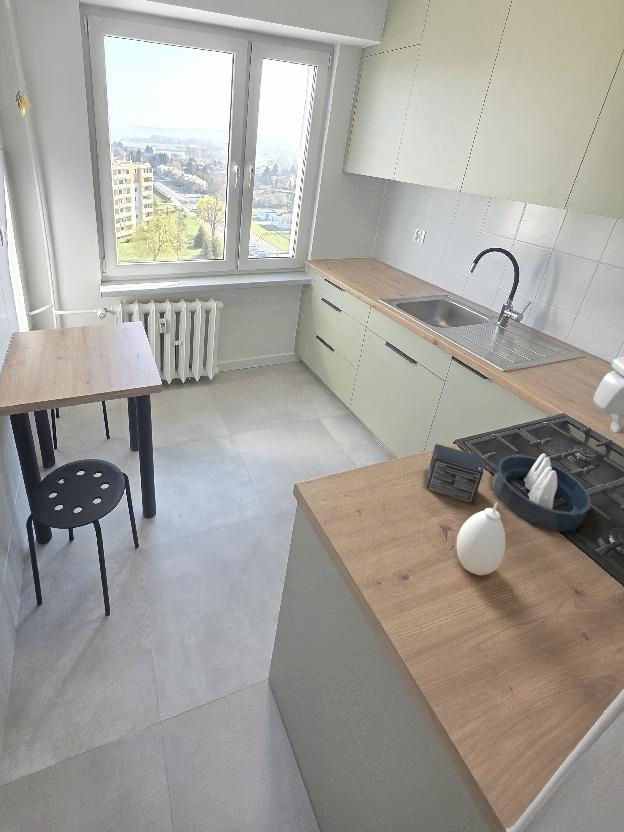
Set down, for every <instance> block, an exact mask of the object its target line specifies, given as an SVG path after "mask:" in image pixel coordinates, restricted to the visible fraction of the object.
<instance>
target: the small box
mask: <svg viewBox="0 0 624 832" xmlns="http://www.w3.org/2000/svg"><path fill="white" fill-rule="evenodd" d="M484 473H485V470H484V462H483V457H482V456H481V455H478V454H474V453H471V452H467V451H464V450H460V449H456V448H454V447H449V446H446V445H442V444H439V443H435V444H434V448H433V451H432V455H431V459H430V462H429V467H428V470H427V473H426V489H427V490H429V491H433V492H436V493H439V494H442V495H445V496H447V497H451V498H454V499H457V500H460V501H464V502H466V503H470V504H475V503H474V502H475V498H476V496H477V493H478V490H479V488H480V484H481V481H482V478H483V475H484Z"/></svg>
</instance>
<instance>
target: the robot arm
mask: <svg viewBox="0 0 624 832" xmlns="http://www.w3.org/2000/svg"><path fill="white" fill-rule="evenodd" d="M611 368H613V370H611V371H609V372H608V373H606V375H604V377H603V378H602V380H601V381H600V383H599V385H598V387H597V388H596V391H595V393H594V396H593V402H594V404H595V405H596V406H597V408H599V409H600V411H602V412H603V413H605V414H609V415H610V416H611V420H612V422H611V424H610V427H609V429H610V430H611V432H613V433H615V434H623V435H624V422H623V420H624V356H621V357H616V358H614V359H613V360H612V362H611Z"/></svg>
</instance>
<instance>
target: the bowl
mask: <svg viewBox="0 0 624 832" xmlns="http://www.w3.org/2000/svg"><path fill="white" fill-rule="evenodd" d="M537 459H538V457H534V456H531V455H524V454H523V455H522V454H512V455H506V456H504V457H503V458H501V459H500V460H499V462H498V464H497V466H496V469H495V472H494V474H493V477H492V480H491V484H492V490H493V491H494V493H495V495H496V497H497V498H498V500H499V501H500V502H501V503H502V504H503V505H504V506H505V507H506V508H507V509H508V510H510V511H511V512H513V513H514V514H515V515H516V516H518V517H519V518H521V519H523V520H525V521H527V522H529V523H531V524H532V525H534V526H538V527H541V528H542V529H543V528H544V529H546V530H550V531H557V532H569V531H575V530H577V529H578V528H580V526H582V524H583V522H584V520H585V519H586V517H587V515H588V513H589V510H590V509H591V505H592V498H591V497H590V494H589V492H588V490H587V489H586V487H584V485H583V484H582V483H581V482H580V481H579V480H577V478H575V477H574V476H573V475H572V474H570V473H569V472H568V471H565V470H564V469H562V468H560V467H559V466H557V465H555V464H553V463H551V467H552V471H553V470H554V471H555V472H556V475H557V489H556V492H555V494H557V495H558V496H560V497H561V499H563V501H564V502H565V503H566V505H567V507H568V510H569V511H562V510H556V509H554V508H552V509H550V508H547V507H544V506H541V505H539V504H537V503H535V502H533V501H531V500H529V499H530V498H527V497H526V496H524V495H523V494H522V493H520V491H518V490H516V489H515V488H514V487H513V486H512V485H511V484H510V483H509V482H508V481H507V480H509V479H511V478H523V479H525V478H526V476H527V475H528V473H529V471H530V470H531V468H532V467H533V465H534V464H535V462H536V461H537Z"/></svg>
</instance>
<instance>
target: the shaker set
mask: <svg viewBox="0 0 624 832" xmlns="http://www.w3.org/2000/svg"><path fill="white" fill-rule="evenodd" d="M551 464H552V463H551V459H550V457H549V456H547V454H546V453H542V454H540V455H539V457H537V461H536V462H535V464H534V465H533V467H532V468H531V470H530V471H529V473H528V475H527V476H526V478H523V481H524V483H525V484H524V486H525V488H526V489H528V490H529V492H528V494H527V496H528V499H529V500H531V501H533V502H535V503H537V504H539V505H541V506H544V507H547V508H550V509H553V506H554V499H555V495H556V489H557V475H556V472H555V471H554V470H553V471H552V467H551Z"/></svg>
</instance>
